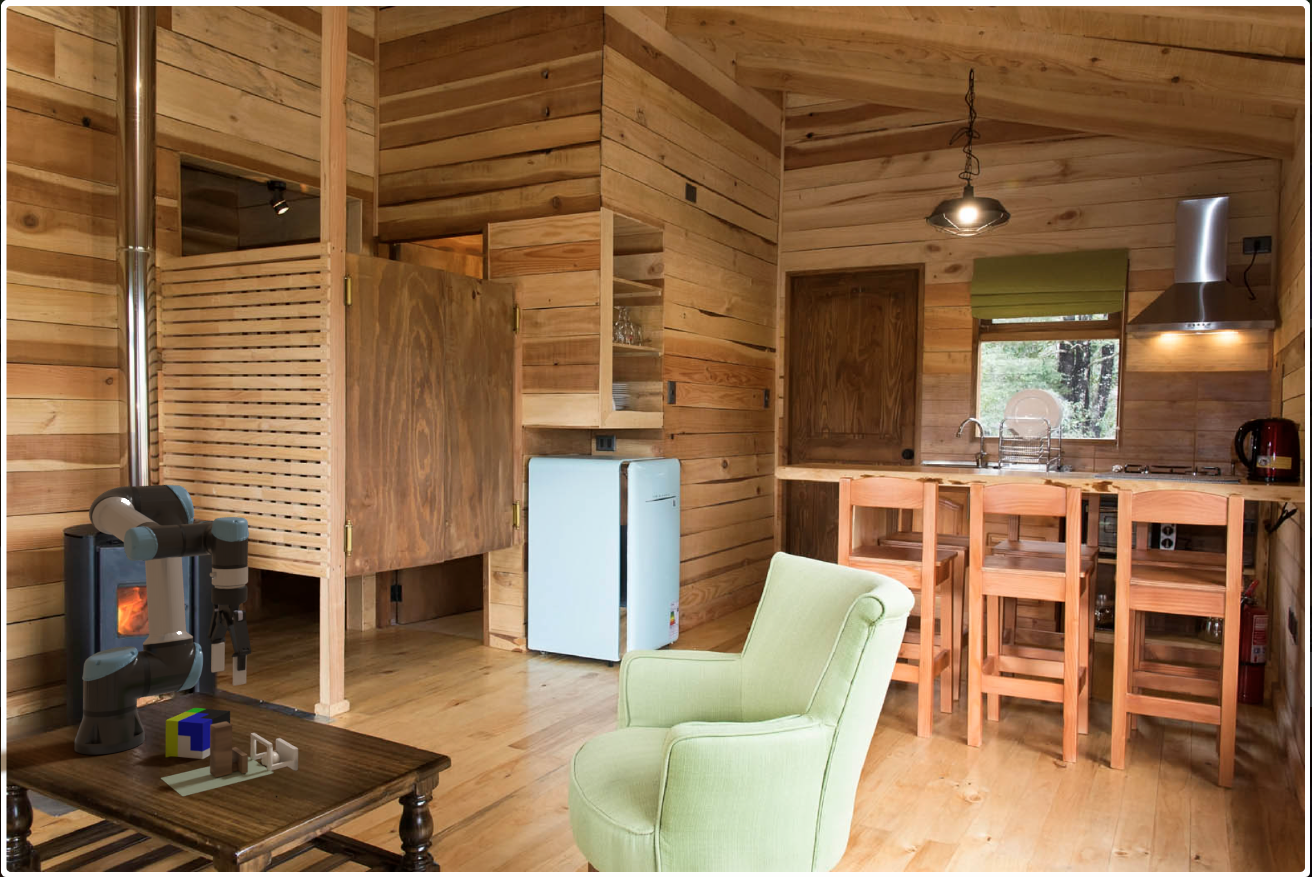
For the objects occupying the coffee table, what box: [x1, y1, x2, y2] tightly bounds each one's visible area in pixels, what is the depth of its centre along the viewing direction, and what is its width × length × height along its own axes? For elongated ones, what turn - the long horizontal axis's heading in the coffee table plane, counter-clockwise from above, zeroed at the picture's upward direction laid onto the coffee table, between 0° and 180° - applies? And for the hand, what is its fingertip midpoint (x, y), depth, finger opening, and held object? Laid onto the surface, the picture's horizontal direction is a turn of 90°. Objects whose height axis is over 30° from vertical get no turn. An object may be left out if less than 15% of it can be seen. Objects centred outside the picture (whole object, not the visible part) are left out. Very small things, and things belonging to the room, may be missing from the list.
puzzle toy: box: [165, 707, 231, 760], centre depth 226 cm, size 10×10×10 cm
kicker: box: [209, 722, 249, 777], centre depth 211 cm, size 7×6×11 cm
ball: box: [260, 751, 281, 767], centre depth 218 cm, size 4×4×4 cm
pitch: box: [160, 732, 299, 797], centre depth 212 cm, size 14×26×8 cm, turn 135°
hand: (228, 677), depth 213 cm, fingers open, 13 cm apart
